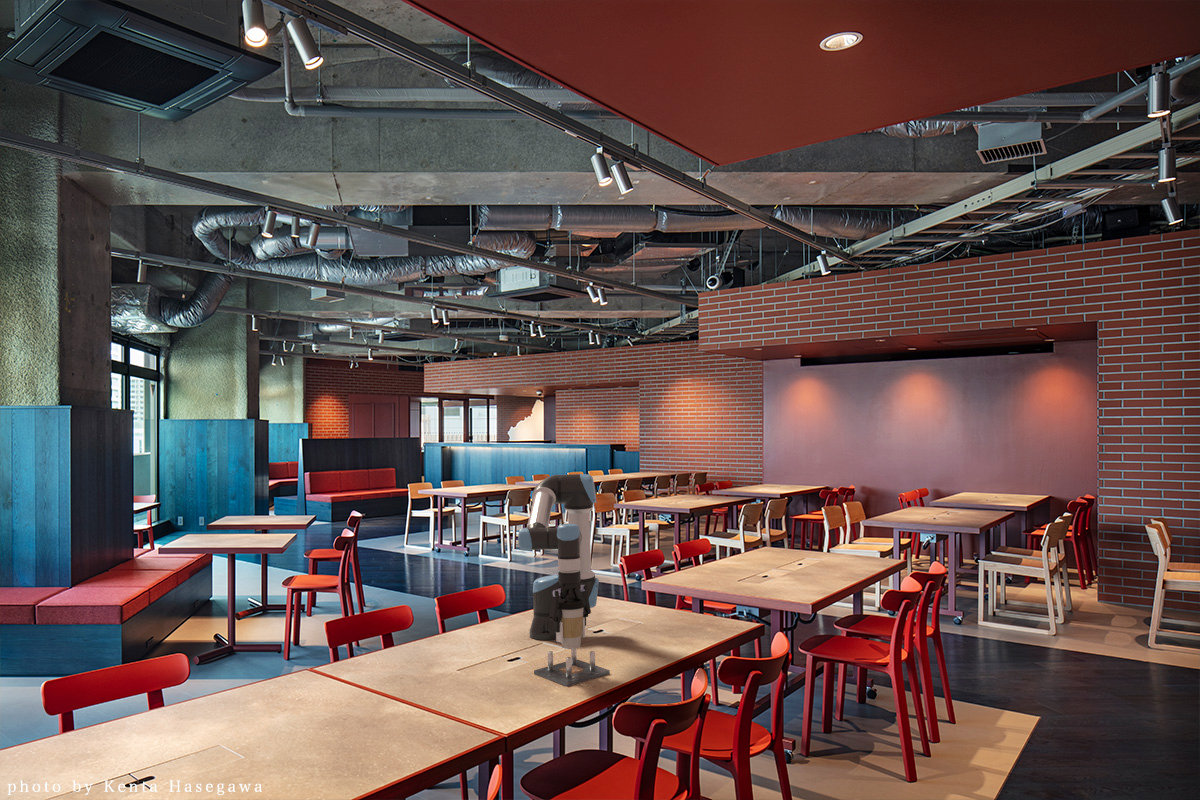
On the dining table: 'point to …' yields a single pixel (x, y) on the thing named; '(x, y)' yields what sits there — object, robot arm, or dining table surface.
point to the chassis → (571, 670)
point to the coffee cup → (572, 623)
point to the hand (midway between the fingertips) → (570, 639)
